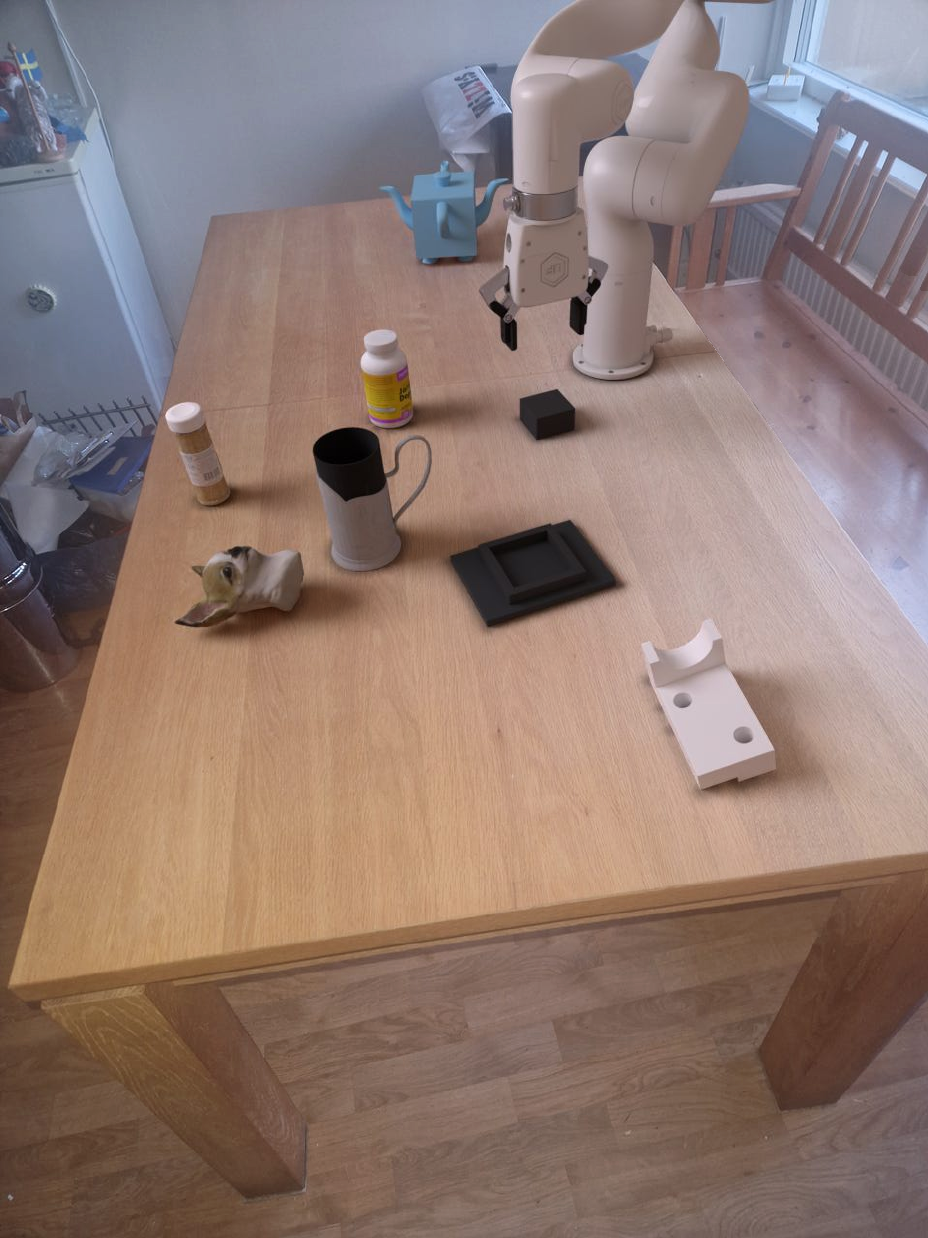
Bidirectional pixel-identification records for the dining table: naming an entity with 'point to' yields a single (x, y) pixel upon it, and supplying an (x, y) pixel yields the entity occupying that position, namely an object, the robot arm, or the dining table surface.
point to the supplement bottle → (386, 380)
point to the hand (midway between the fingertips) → (543, 338)
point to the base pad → (530, 571)
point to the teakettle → (444, 213)
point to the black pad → (547, 414)
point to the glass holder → (360, 497)
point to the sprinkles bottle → (198, 452)
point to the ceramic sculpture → (245, 584)
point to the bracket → (708, 710)
